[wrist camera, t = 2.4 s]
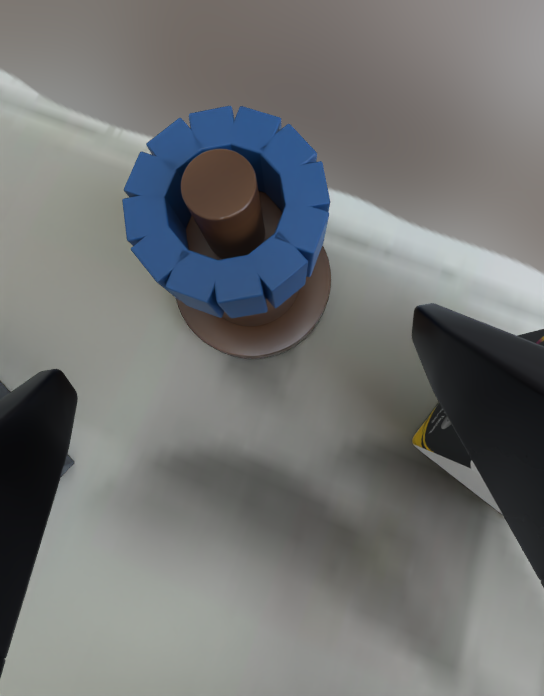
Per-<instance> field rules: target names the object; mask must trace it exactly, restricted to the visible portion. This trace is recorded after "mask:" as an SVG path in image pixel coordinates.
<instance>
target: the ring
mask: <svg viewBox="0 0 544 696" xmlns="http://www.w3.org/2000/svg"><path fill="white" fill-rule="evenodd" d="M189 121H190V128H191V129H190V128H189V126H188V125H187V124H186V123H185V122H184V121H183V120H182V119H181V118H178V119H177V120H176V121H175V122H173V123H172V124H171V125H169V126H168V127H167V128H166V129H164V130H163V131H162V132H161V133H159V134H158V135H157V136H155V137H154V138H153V139H152V140H150V141H149V142H148V143H147V144H146V145H147V147H148V149H149V150H150V152H151V154H152V155H151V154H148V153H144V152H140V154H139V156H138V158H137V160H136V163H135V165H134V167H133V169H132V172H131V174H130V176H129V179H128V181H127V183H126V185H125V188H124V191H125V192H126V193H127V195H128V196H129V197H130V198H124V199H123V200H122V201H123V210H124V218H125V227H126V235H127V240H128V242H130V243H131V244H132V245H133V247H132V248H131V251H132V252H133V253H134V254H135V256H136V257H137V258H138V259H139V261H140V262H141V263H142V264H143V266H144V267H145V268H146V269H147V271H148V272H149V273H150V274H151V276H152V277H153V278H154V279H155V281H156V282H157V283H159V284H160V285H161V286H162V287H163V288H165V289H166V290H167V291H168V292H170V293H171V294H172V295H173V296H174V297H176V298H177V299H178V300H181V301H182V302H183V303H184V304H186V305H187V306H189V307H192V308H194V309H197V310H200V311H203V312H205V313H208V314H211V315H214V316H216V317H219V318H222V316H223V314H224V312H225V313H226V314H227V315H228V316H229V318H237V317H243V316H249V315H254V314H260V313H266V312H267V311H268V308H267V302H266V299H267V300H268V301H269V302H270V303H271V305H272V306H273V307H274V308H275V309H276V308H277V307H279V306H280V305H281V304H282V303H283V302H285V301H286V300H287V299H288V298H290V297H291V296H292V295H293V294H294V293H296V292H297V291H298V290H299V289H301V288H302V287H303V286H304V285H305V282H306V276H307V277H310V276H311V275H312V272H313V269H314V266H315V264H316V261H317V258H318V256H319V253H320V250H321V248H322V245H323V241H324V236H325V232H326V227H327V222H328V217H329V212H328V211H329V206H330V198H329V193H328V188H327V183H326V178H325V173H324V168H323V163H322V162H321V161H320V162H316V159H317V153H316V151H315V150H314V149H313V148H312V147H311V146H310V145H309V144H308V143H307V142H306V141H305V140H304V139H303V138H302V137H301V136H300V134H299V133H298V132H297V131H296V130H295V129H294V128H293V127H292V126H291V125H290V124H287V125H286V126H285V127H283V128H282V129H281V118H279V117H276V116H273V115H270V114H266V113H263V112H260V111H256V110H253V109H250V108H246V107H243V106H240V108H239V110H238V113H237V115H236V117H235V119H234V115H233V110H232V107H231V106H226V107H220V108H215V109H210V110H205V111H200V112H195V113H190V114H189ZM213 149H228V150H232V151H235V152H237V153H239V154H240V155H242V156H243V157H244V158H246V159H247V160H248V161H249V162H250V164H251V165H252V167H253V169H254V171H255V174H256V179H257V185H258V191H261V192H264V193H266V194H267V195H268V196H269V197H270V198H271V200H272V201H273V202H274V203H275V204H276V205H277V206H278V207H279V208H280V210H281V211H282V215H281V217H280V220H279V223H278V225H277V228H276V230H275V233H274V234H273V235H272V236H271V237H269V238H268V239H267V240H266V241H264V242H263V243H262V244H261V245H260V246H258V247H257V248H256V249H255V250H253V251H252V252H251V253H250V254H248V255H244V256H238V257H233V258H227V259H222V260H216V259H213V258H211V257H208V256H205V255H202V254H199V253H196V252H193V251H190V250H188V242H187V235H186V227H187V225H188V222H189V220H190V218H191V213H190V211H189V209H188V208H187V206H186V204H185V202H184V200H183V197H182V194H181V180H182V176H183V173H184V171H185V169H186V167H187V166H188V164H189V163H190V162H191V161H192V160H193V159H194V158H195V157H197V156H198V155H200V154H201V153H204V152H206V151H209V150H213Z"/></svg>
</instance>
